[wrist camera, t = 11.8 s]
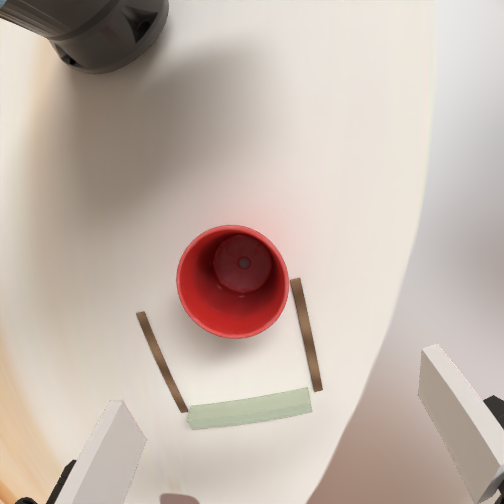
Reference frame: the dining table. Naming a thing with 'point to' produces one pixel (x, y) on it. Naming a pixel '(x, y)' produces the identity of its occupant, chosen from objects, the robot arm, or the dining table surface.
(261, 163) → the dining table surface
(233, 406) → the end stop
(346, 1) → the dining table surface
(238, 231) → the flower pot
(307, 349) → the guide strips
